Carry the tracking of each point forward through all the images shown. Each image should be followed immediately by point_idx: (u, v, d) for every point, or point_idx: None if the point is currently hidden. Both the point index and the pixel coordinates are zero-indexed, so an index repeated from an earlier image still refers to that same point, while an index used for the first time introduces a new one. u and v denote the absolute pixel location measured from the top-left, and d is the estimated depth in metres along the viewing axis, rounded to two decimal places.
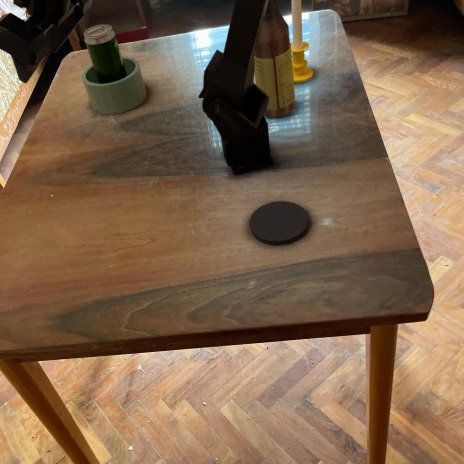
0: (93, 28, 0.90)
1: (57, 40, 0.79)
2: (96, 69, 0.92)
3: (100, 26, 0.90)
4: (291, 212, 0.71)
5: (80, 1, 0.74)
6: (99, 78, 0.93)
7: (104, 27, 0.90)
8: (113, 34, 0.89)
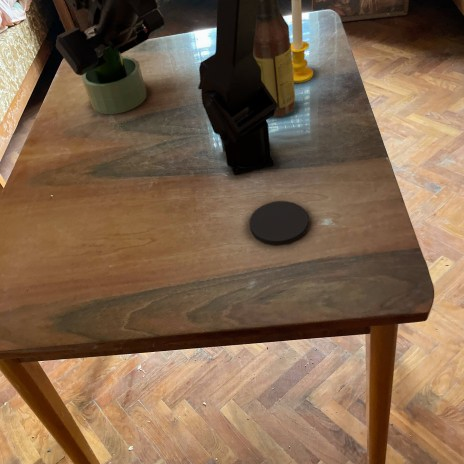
0: (93, 28, 0.90)
1: None
2: (96, 69, 0.92)
3: None
4: (291, 212, 0.71)
5: (148, 29, 0.88)
6: (99, 78, 0.93)
7: None
8: None
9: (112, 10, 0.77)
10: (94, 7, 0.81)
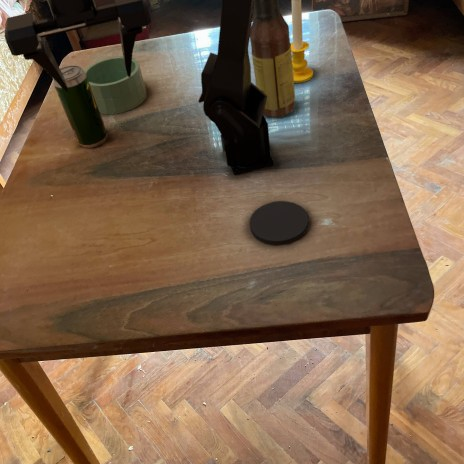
0: (63, 69, 0.82)
1: (124, 62, 0.74)
2: (67, 113, 0.85)
3: (70, 67, 0.82)
4: (291, 212, 0.71)
5: (118, 12, 0.67)
6: (70, 122, 0.86)
7: (74, 68, 0.82)
8: (84, 76, 0.82)
9: None
10: None
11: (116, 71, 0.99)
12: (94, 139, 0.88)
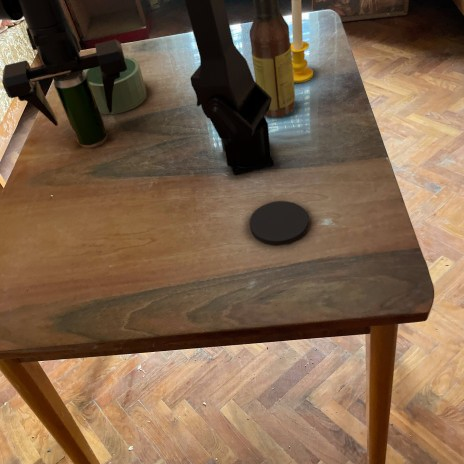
0: None
1: None
2: (67, 113, 0.85)
3: None
4: (291, 212, 0.71)
5: (98, 61, 0.79)
6: (70, 122, 0.86)
7: None
8: (84, 76, 0.82)
9: (35, 18, 0.72)
10: None
11: None
12: (94, 139, 0.88)
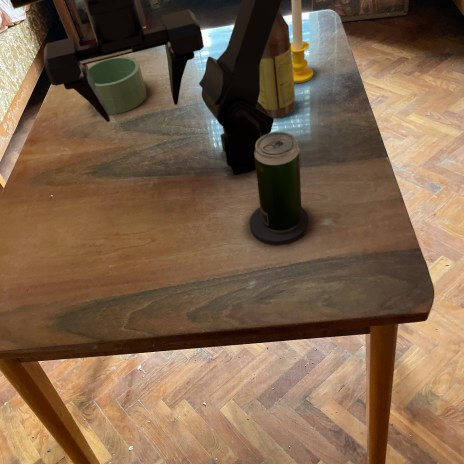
0: (266, 138, 0.62)
1: (171, 89, 0.67)
2: (265, 193, 0.64)
3: (276, 135, 0.62)
4: None
5: (168, 37, 0.60)
6: (266, 203, 0.65)
7: (282, 137, 0.62)
8: (298, 148, 0.61)
9: None
10: None
11: (116, 71, 0.99)
12: (291, 223, 0.67)
